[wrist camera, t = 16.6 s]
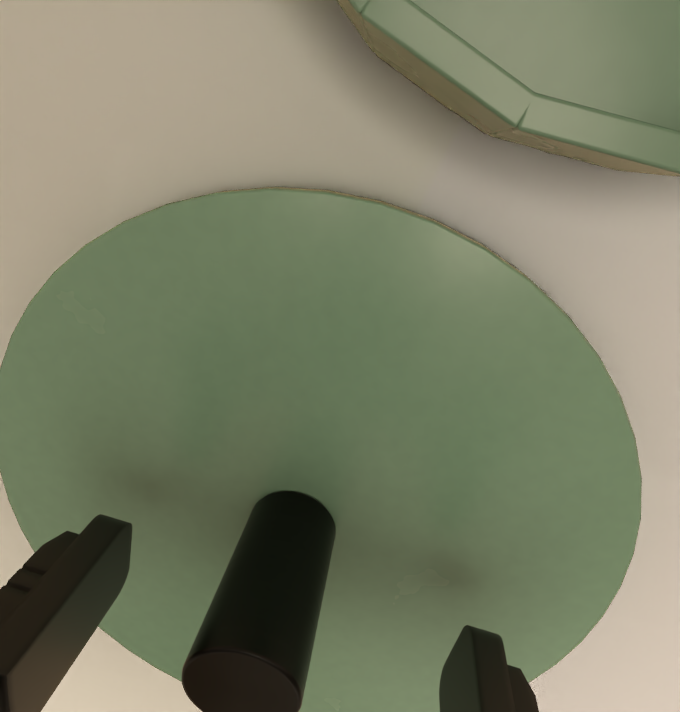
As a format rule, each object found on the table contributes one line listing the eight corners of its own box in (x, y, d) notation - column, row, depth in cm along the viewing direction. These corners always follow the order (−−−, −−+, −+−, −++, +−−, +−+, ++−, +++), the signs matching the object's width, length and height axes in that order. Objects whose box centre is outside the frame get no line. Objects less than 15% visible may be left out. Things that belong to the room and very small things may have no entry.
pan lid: (30, 608, 18) (-119, 787, 13) (8, 94, 11) (-352, 45, 6) (480, 745, 18) (508, 988, 13) (776, 306, 10) (1129, 459, 5)
